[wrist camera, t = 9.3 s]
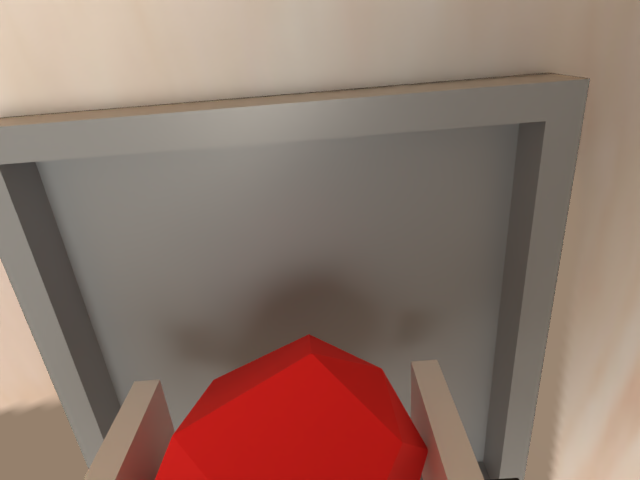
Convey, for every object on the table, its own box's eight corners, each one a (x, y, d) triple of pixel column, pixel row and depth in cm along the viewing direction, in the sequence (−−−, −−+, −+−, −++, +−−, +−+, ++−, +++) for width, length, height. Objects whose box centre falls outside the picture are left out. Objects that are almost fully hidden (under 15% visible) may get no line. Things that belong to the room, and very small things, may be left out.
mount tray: (549, 72, 13) (589, 78, 11) (499, 464, 20) (518, 510, 18) (0, 117, 14) (-53, 131, 12) (135, 487, 21) (116, 534, 19)
